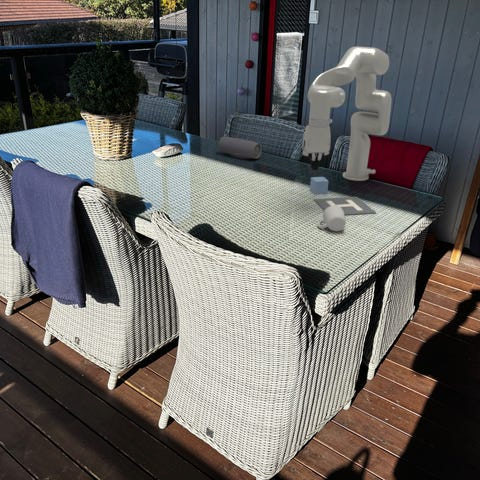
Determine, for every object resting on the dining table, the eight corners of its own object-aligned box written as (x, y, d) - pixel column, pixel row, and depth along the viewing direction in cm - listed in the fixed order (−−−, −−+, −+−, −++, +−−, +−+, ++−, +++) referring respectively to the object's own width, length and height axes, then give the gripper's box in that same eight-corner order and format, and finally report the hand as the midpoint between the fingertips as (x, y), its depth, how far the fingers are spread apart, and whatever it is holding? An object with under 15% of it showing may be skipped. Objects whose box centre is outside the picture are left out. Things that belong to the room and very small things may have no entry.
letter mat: (356, 197, 212) (356, 196, 211) (376, 213, 196) (376, 212, 196) (313, 200, 207) (313, 199, 207) (330, 216, 192) (330, 215, 191)
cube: (322, 189, 221) (323, 176, 218) (327, 193, 215) (328, 181, 213) (309, 189, 219) (311, 177, 217) (314, 194, 214) (315, 181, 212)
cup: (316, 223, 176) (312, 213, 183) (323, 240, 180) (320, 229, 186) (343, 211, 173) (339, 201, 180) (351, 229, 177) (346, 218, 184)
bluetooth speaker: (261, 158, 262) (262, 140, 258) (253, 162, 255) (253, 144, 251) (227, 151, 273) (227, 134, 269) (217, 155, 266) (217, 137, 262)
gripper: (333, 120, 188) (328, 165, 196) (296, 121, 185) (293, 167, 193) (341, 124, 181) (335, 171, 190) (303, 125, 178) (299, 173, 186)
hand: (314, 169), depth 191 cm, fingers closed
